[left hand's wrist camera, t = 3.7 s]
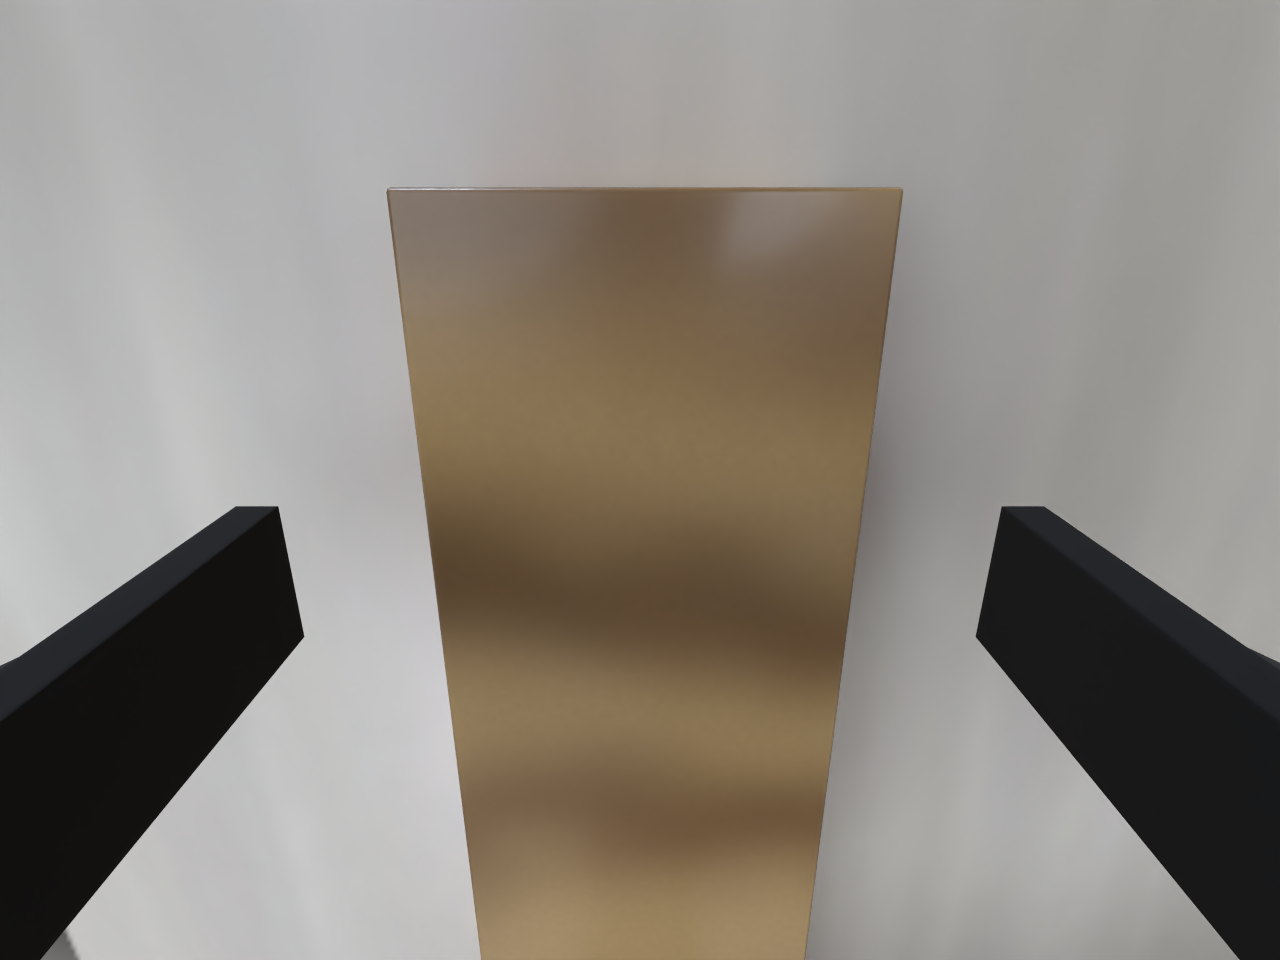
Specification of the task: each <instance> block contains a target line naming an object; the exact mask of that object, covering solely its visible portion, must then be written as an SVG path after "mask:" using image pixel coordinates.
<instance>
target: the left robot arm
mask: <svg viewBox="0 0 1280 960" xmlns="http://www.w3.org/2000/svg"><path fill="white" fill-rule="evenodd" d="M303 638H304V633H303V628H302V623H301V618H300V613H299V608H298V603H297V598H296V593H295V588H294V583H293V578H292V573H291V568H290V563H289V558H288V553H287V548H286V543H285V538H284V533H283V528H282V523H281V518H280V513H279V508H278V506H236V507H234V508H233V509H232V510H230V511H229V512H227V513H226V514H224V515H223V516H221V517H220V518H219V519H217V520H216V521H214V522H213V523H211V524H210V525H209V526H207V527H206V528H204V529H203V530H201V531H200V532H198V533H197V534H196V535H194V536H193V537H191V538H190V539H188V540H187V541H185V542H184V543H183V544H181V545H180V546H178V547H177V548H175V549H174V550H173V551H171V552H170V553H168V554H167V555H165V556H164V557H162V558H161V559H160V560H158V561H157V562H155V563H154V564H152V565H151V566H149V567H148V568H147V569H145V570H144V571H142V572H141V573H139V574H138V575H137V576H135V577H134V578H132V579H131V580H129V581H128V582H126V583H125V584H124V585H122V586H121V587H119V588H118V589H116V590H115V591H113V592H112V593H111V594H109V595H108V596H106V597H105V598H103V599H102V600H101V601H99V602H98V603H96V604H95V605H93V606H92V607H90V608H89V609H88V610H86V611H85V612H83V613H82V614H80V615H79V616H77V617H76V618H75V619H73V620H72V621H70V622H69V623H67V624H66V625H65V626H63V627H62V628H60V629H59V630H57V631H56V632H54V633H53V634H52V635H50V636H49V637H47V638H46V639H44V640H43V641H41V642H40V643H39V644H37V645H36V646H34V647H33V648H31V649H30V650H29V651H27V652H26V653H24V654H23V655H21V656H20V657H18V658H16V659H14V660H12V661H10V662H7V663H5V664H3V665H1V666H0V960H40V959H41V958H42V957H43V956H44V955H45V953H46V952H47V951H48V950H49V948H50V947H51V946H52V945H53V944H54V942H55V941H56V940H57V939H58V937H59V936H60V935H61V934H62V933H63V931H64V930H65V929H66V928H67V926H68V925H69V924H70V923H71V922H72V920H73V919H74V918H75V917H76V915H77V914H78V913H79V912H80V911H81V909H82V908H83V907H84V906H85V904H86V903H87V902H88V901H89V900H90V898H91V897H92V896H93V895H94V893H95V892H96V891H97V890H98V889H99V887H100V886H101V885H102V884H103V882H104V881H105V880H106V879H107V878H108V876H109V875H110V874H111V873H112V871H113V870H114V869H115V868H116V867H117V865H118V864H119V863H120V862H121V860H122V859H123V858H124V857H125V855H126V854H127V853H128V852H129V851H130V849H131V848H132V847H133V846H134V844H135V843H136V842H137V841H138V840H139V838H140V837H141V836H142V835H143V833H144V832H145V831H146V830H147V829H148V827H149V826H150V825H151V824H152V822H153V821H154V820H155V819H156V818H157V816H158V815H159V814H160V813H161V811H162V810H163V809H164V808H165V807H166V805H167V804H168V803H169V802H170V800H171V799H172V798H173V797H174V796H175V794H176V793H177V792H178V791H179V789H180V788H181V787H182V786H183V785H184V783H185V782H186V781H187V780H188V778H189V777H190V776H191V775H192V774H193V772H194V771H195V770H196V769H197V767H198V766H199V765H200V764H201V762H202V761H203V760H204V759H205V758H206V756H207V755H208V754H209V753H210V751H211V750H212V749H213V748H214V747H215V745H216V744H217V743H218V742H219V740H220V739H221V738H222V737H223V736H224V734H225V733H226V732H227V731H228V729H229V728H230V727H231V726H232V725H233V723H234V722H235V721H236V720H237V718H238V717H239V716H240V715H241V714H242V712H243V711H244V710H245V709H246V707H247V706H248V705H249V704H250V703H251V701H252V700H253V699H254V698H255V696H256V695H257V694H258V693H259V692H260V690H261V689H262V688H263V687H264V685H265V684H266V683H267V682H268V681H269V679H270V678H271V677H272V676H273V674H274V673H275V672H276V671H277V669H278V668H279V667H280V666H281V665H282V663H283V662H284V661H285V660H286V658H287V657H288V656H289V655H290V654H291V652H292V651H293V650H294V649H295V647H296V646H297V645H298V644H299V643H300V641H301V640H302V639H303ZM976 638H977V639H978V640H979V641H980V643H981V644H982V645H983V646H984V647H985V649H986V650H987V651H988V652H989V654H990V655H991V656H992V657H993V658H994V660H995V661H996V662H997V663H998V665H999V666H1000V667H1001V668H1002V669H1003V671H1004V672H1005V673H1006V674H1007V676H1008V677H1009V678H1010V679H1011V681H1012V682H1013V683H1014V684H1015V685H1016V687H1017V688H1018V689H1019V690H1020V692H1021V693H1022V694H1023V695H1024V696H1025V698H1026V699H1027V700H1028V701H1029V703H1030V704H1031V705H1032V706H1033V707H1034V709H1035V710H1036V711H1037V712H1038V714H1039V715H1040V716H1041V717H1042V718H1043V720H1044V721H1045V722H1046V723H1047V725H1048V726H1049V727H1050V728H1051V729H1052V731H1053V732H1054V733H1055V734H1056V736H1057V737H1058V738H1059V739H1060V740H1061V742H1062V743H1063V744H1064V745H1065V747H1066V748H1067V749H1068V750H1069V751H1070V753H1071V754H1072V755H1073V756H1074V758H1075V759H1076V760H1077V761H1078V762H1079V764H1080V765H1081V766H1082V767H1083V769H1084V770H1085V771H1086V772H1087V774H1088V775H1089V776H1090V777H1091V778H1092V780H1093V781H1094V782H1095V783H1096V785H1097V786H1098V787H1099V788H1100V789H1101V791H1102V792H1103V793H1104V794H1105V796H1106V797H1107V798H1108V799H1109V800H1110V802H1111V803H1112V804H1113V805H1114V807H1115V808H1116V809H1117V810H1118V811H1119V813H1120V814H1121V815H1122V816H1123V818H1124V819H1125V820H1126V821H1127V822H1128V824H1129V825H1130V826H1131V827H1132V829H1133V830H1134V831H1135V832H1136V833H1137V835H1138V836H1139V837H1140V838H1141V840H1142V841H1143V842H1144V843H1145V844H1146V846H1147V847H1148V848H1149V849H1150V851H1151V852H1152V853H1153V854H1154V855H1155V857H1156V858H1157V859H1158V860H1159V862H1160V863H1161V864H1162V865H1163V867H1164V868H1165V869H1166V870H1167V871H1168V873H1169V874H1170V875H1171V876H1172V878H1173V879H1174V880H1175V881H1176V882H1177V884H1178V885H1179V886H1180V887H1181V889H1182V890H1183V891H1184V892H1185V893H1186V895H1187V896H1188V897H1189V898H1190V900H1191V901H1192V902H1193V903H1194V904H1195V906H1196V907H1197V908H1198V909H1199V911H1200V912H1201V913H1202V914H1203V915H1204V917H1205V918H1206V919H1207V920H1208V922H1209V923H1210V924H1211V925H1212V926H1213V928H1214V929H1215V930H1216V931H1217V933H1218V934H1219V935H1220V936H1221V937H1222V939H1223V940H1224V941H1225V942H1226V944H1227V945H1228V946H1229V947H1230V948H1231V950H1232V951H1233V952H1234V953H1235V955H1236V956H1237V957H1238V958H1239V959H1240V960H1280V663H1279V662H1277V661H1275V660H1273V659H1271V658H1268V657H1266V656H1264V655H1262V654H1260V653H1258V652H1256V651H1254V650H1251V649H1249V648H1247V647H1246V646H1244V645H1243V644H1241V643H1240V642H1239V641H1237V640H1236V639H1234V638H1233V637H1231V636H1230V635H1228V634H1227V633H1226V632H1224V631H1223V630H1221V629H1220V628H1218V627H1217V626H1215V625H1214V624H1213V623H1211V622H1210V621H1208V620H1207V619H1205V618H1204V617H1203V616H1201V615H1200V614H1198V613H1197V612H1195V611H1194V610H1192V609H1191V608H1190V607H1188V606H1187V605H1185V604H1184V603H1182V602H1181V601H1179V600H1178V599H1177V598H1175V597H1174V596H1172V595H1171V594H1169V593H1168V592H1167V591H1165V590H1164V589H1162V588H1161V587H1159V586H1158V585H1156V584H1155V583H1154V582H1152V581H1151V580H1149V579H1148V578H1146V577H1145V576H1143V575H1142V574H1141V573H1139V572H1138V571H1136V570H1135V569H1133V568H1132V567H1131V566H1129V565H1128V564H1126V563H1125V562H1123V561H1122V560H1120V559H1119V558H1118V557H1116V556H1115V555H1113V554H1112V553H1110V552H1109V551H1107V550H1106V549H1105V548H1103V547H1102V546H1100V545H1099V544H1097V543H1096V542H1095V541H1093V540H1092V539H1090V538H1089V537H1087V536H1086V535H1084V534H1083V533H1082V532H1080V531H1079V530H1077V529H1076V528H1074V527H1073V526H1071V525H1070V524H1069V523H1067V522H1066V521H1064V520H1063V519H1061V518H1060V517H1059V516H1057V515H1056V514H1054V513H1053V512H1051V511H1050V510H1048V509H1047V508H1046V507H1044V506H1002V508H1001V513H1000V518H999V523H998V528H997V533H996V538H995V543H994V548H993V553H992V558H991V563H990V568H989V573H988V578H987V583H986V588H985V593H984V598H983V603H982V608H981V613H980V618H979V623H978V628H977V633H976Z"/></svg>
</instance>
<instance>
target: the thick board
mask: <svg viewBox="0 0 1280 960" xmlns="http://www.w3.org/2000/svg"><path fill="white" fill-rule="evenodd" d="M902 197H903V190H902V189H901V188H899V187H733V188H388V189H387V200H388V208H389V216H390V224H391V232H392V240H393V249H394V257H395V265H396V273H397V281H398V289H399V297H400V305H401V313H402V321H403V329H404V338H405V346H406V354H407V362H408V370H409V378H410V386H411V394H412V402H413V410H414V419H415V427H416V435H417V443H418V451H419V459H420V467H421V475H422V483H423V491H424V499H425V508H426V516H427V524H428V532H429V540H430V548H431V556H432V564H433V572H434V580H435V588H436V597H437V605H438V613H439V621H440V629H441V637H442V645H443V653H444V661H445V669H446V678H447V686H448V694H449V702H450V710H451V718H452V726H453V734H454V742H455V750H456V758H457V767H458V775H459V783H460V791H461V799H462V807H463V815H464V823H465V831H466V839H467V848H468V856H469V864H470V872H471V880H472V888H473V896H474V904H475V912H476V920H477V928H478V937H479V945H480V953H481V960H805V953H806V946H807V938H808V930H809V922H810V914H811V907H812V899H813V891H814V883H815V875H816V868H817V860H818V852H819V844H820V836H821V829H822V821H823V813H824V805H825V797H826V790H827V782H828V774H829V766H830V758H831V751H832V743H833V735H834V727H835V719H836V712H837V704H838V696H839V688H840V680H841V672H842V665H843V657H844V649H845V641H846V633H847V626H848V618H849V610H850V602H851V594H852V587H853V579H854V571H855V563H856V555H857V548H858V540H859V532H860V524H861V516H862V509H863V501H864V493H865V485H866V477H867V470H868V462H869V454H870V446H871V438H872V431H873V423H874V415H875V407H876V399H877V392H878V384H879V376H880V368H881V360H882V353H883V345H884V337H885V329H886V321H887V314H888V306H889V298H890V290H891V282H892V275H893V267H894V259H895V251H896V243H897V236H898V228H899V220H900V212H901V204H902Z"/></svg>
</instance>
